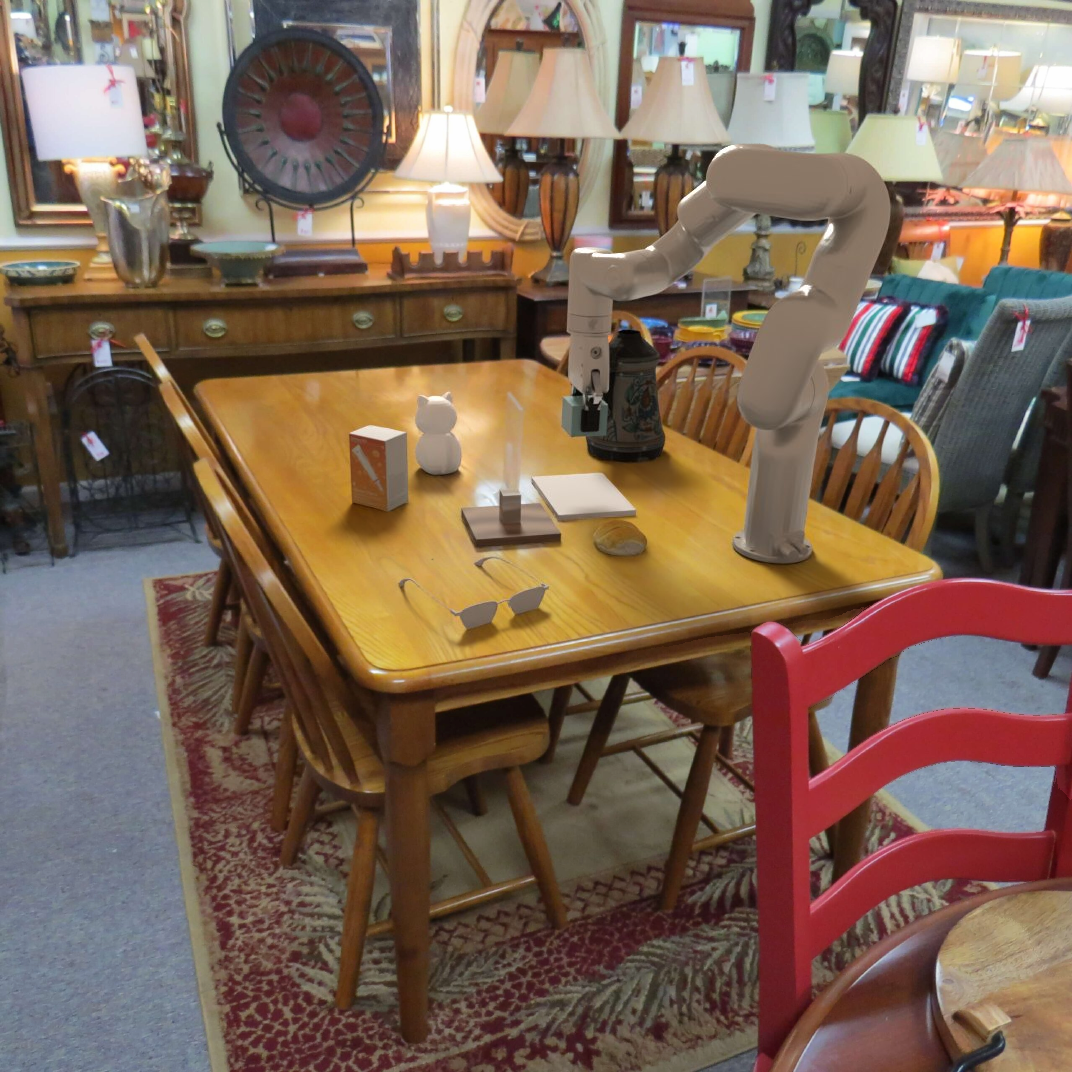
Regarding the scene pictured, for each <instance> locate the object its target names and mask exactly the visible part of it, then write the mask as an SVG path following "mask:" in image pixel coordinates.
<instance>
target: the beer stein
mask: <svg viewBox="0 0 1072 1072" xmlns="http://www.w3.org/2000/svg"><path fill="white" fill-rule="evenodd" d="M660 357H661V355H660V353H659V352H658V350H657V349H656V348H655V347H654V346H653V345H652V344H650V343H649V342H648V341H647V340H646V339H645V338H643V336H642V334H641V331H639V330H636V329H620V330H618V331H617V332H616V336H615V337H613V338H612V340H611V341H609V390H608V392H607V393H603V396H602V400H603V401H604V402H605V403H606V404H608V414H607V430H606V435H605V436H585V441H586V446H587V447H586V448H587V451H588V453H589V454H590V455H592V456H593V457H595V458H598V459H600V460H605V461H607V462H616V463H625V464H629V463H630V464H633V463H634V464H636V463H638V464H639V463H646V462H647V463H648V462H651V461H654V460H656V459H658V458H660V457H661V456H662V454H663V449H664V448H665V444H666V433H665V431H664V428H663V424H662V418H661V412H660V411H661V410H660V403H659V397H658V396H659V394H658V382H657V366H658V365H659V361H660ZM588 391H593V388H590V389H588Z"/></svg>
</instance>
